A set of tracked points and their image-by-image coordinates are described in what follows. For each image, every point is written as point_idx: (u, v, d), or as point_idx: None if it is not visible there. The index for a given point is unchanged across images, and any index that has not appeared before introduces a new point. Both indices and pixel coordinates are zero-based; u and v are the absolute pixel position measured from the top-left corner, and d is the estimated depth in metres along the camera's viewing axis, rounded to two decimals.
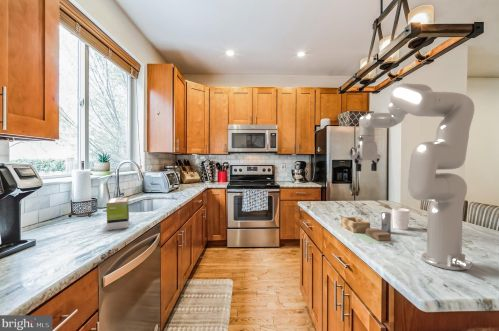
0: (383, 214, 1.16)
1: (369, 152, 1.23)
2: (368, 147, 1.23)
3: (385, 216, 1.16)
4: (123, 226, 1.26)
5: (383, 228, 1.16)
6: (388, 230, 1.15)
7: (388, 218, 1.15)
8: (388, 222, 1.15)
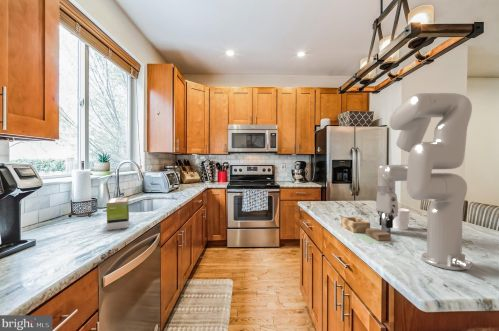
0: (383, 214, 1.16)
1: None
2: None
3: (385, 216, 1.16)
4: (123, 226, 1.26)
5: (383, 228, 1.16)
6: (388, 230, 1.15)
7: None
8: None
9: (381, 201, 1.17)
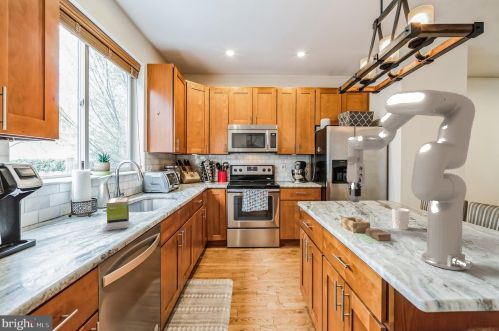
0: (352, 183, 1.22)
1: None
2: None
3: (354, 185, 1.21)
4: (123, 226, 1.26)
5: (352, 197, 1.22)
6: (357, 198, 1.21)
7: None
8: None
9: (350, 171, 1.23)
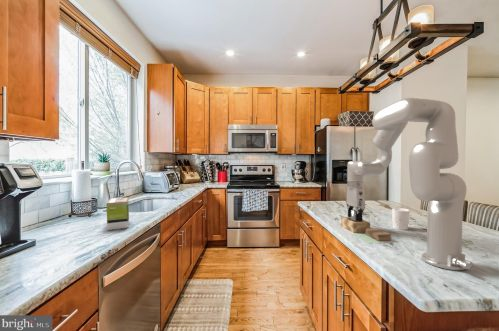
0: (352, 212, 1.22)
1: None
2: None
3: (354, 213, 1.21)
4: (123, 226, 1.26)
5: None
6: None
7: None
8: None
9: (350, 195, 1.23)
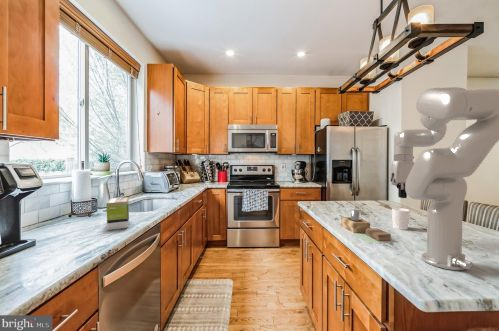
0: (352, 212, 1.22)
1: None
2: None
3: (354, 213, 1.21)
4: (123, 226, 1.26)
5: None
6: None
7: (356, 215, 1.21)
8: (356, 219, 1.21)
9: (406, 170, 1.08)
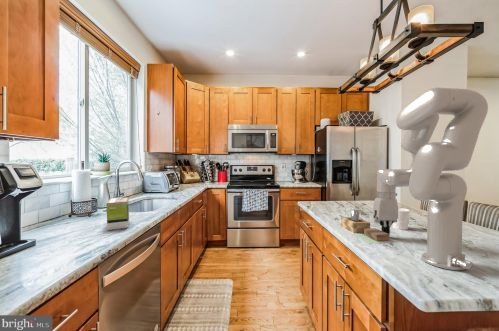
0: (352, 212, 1.22)
1: None
2: None
3: (354, 213, 1.21)
4: (123, 226, 1.26)
5: None
6: None
7: (356, 215, 1.21)
8: (356, 219, 1.21)
9: (388, 208, 1.07)
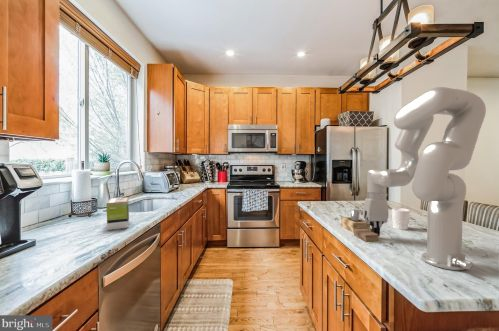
0: (352, 212, 1.22)
1: None
2: None
3: (354, 213, 1.21)
4: (123, 226, 1.26)
5: None
6: None
7: (356, 215, 1.21)
8: (356, 219, 1.21)
9: (379, 209, 1.06)
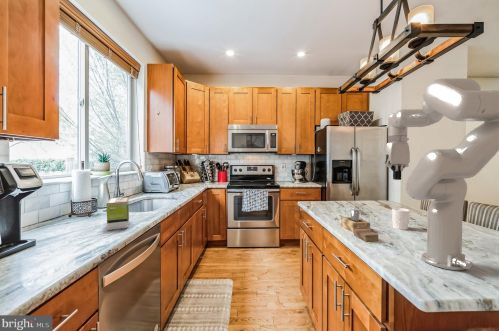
0: (352, 212, 1.22)
1: None
2: None
3: (354, 213, 1.21)
4: (123, 226, 1.26)
5: None
6: None
7: (356, 215, 1.21)
8: (356, 219, 1.21)
9: (400, 152, 1.07)
